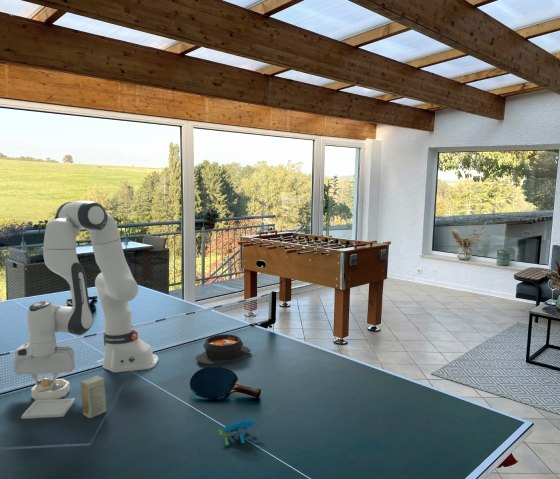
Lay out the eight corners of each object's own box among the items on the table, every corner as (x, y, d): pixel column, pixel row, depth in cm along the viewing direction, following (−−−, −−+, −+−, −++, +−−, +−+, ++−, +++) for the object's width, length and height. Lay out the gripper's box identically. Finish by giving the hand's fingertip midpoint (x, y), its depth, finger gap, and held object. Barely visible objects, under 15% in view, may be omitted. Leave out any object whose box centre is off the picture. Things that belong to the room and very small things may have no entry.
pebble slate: (62, 391, 179) (65, 383, 179) (58, 397, 176) (61, 389, 175) (52, 387, 179) (56, 380, 178) (48, 393, 175) (52, 386, 175)
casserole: (233, 346, 227) (233, 328, 225) (259, 356, 213) (259, 338, 212) (187, 360, 210) (186, 341, 209) (212, 372, 196) (211, 352, 195)
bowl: (73, 387, 184) (72, 378, 183) (62, 401, 172) (61, 392, 172) (41, 388, 183) (40, 379, 182) (27, 403, 171) (26, 393, 171)
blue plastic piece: (253, 423, 153) (255, 413, 145) (258, 442, 149) (260, 433, 141) (218, 433, 150) (218, 424, 142) (222, 453, 146) (223, 444, 139)
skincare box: (99, 409, 167) (97, 374, 165) (107, 412, 164) (104, 377, 162) (82, 416, 162) (79, 380, 160) (89, 420, 159) (86, 384, 157)
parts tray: (75, 402, 171) (74, 398, 171) (63, 418, 160) (63, 413, 160) (35, 404, 170) (35, 400, 170) (21, 420, 159) (21, 415, 159)
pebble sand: (53, 385, 179) (52, 375, 178) (49, 389, 175) (48, 379, 175) (43, 385, 179) (42, 376, 178) (39, 389, 175) (38, 380, 175)
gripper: (76, 343, 179) (78, 379, 181) (17, 345, 177) (21, 381, 179) (70, 349, 173) (72, 386, 175) (9, 351, 171) (13, 389, 173)
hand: (46, 384), depth 177 cm, fingers closed on pebble sand, 4 cm apart
